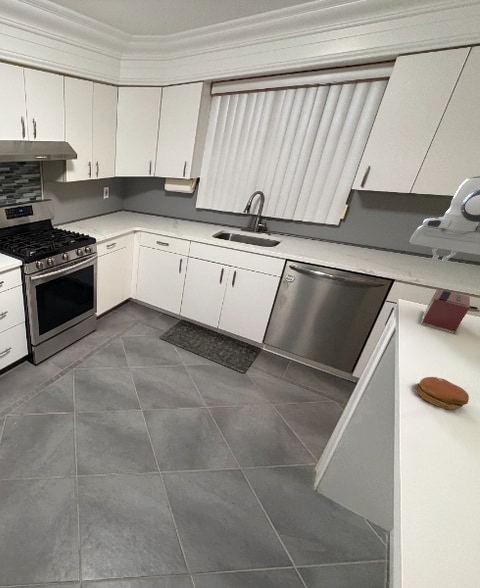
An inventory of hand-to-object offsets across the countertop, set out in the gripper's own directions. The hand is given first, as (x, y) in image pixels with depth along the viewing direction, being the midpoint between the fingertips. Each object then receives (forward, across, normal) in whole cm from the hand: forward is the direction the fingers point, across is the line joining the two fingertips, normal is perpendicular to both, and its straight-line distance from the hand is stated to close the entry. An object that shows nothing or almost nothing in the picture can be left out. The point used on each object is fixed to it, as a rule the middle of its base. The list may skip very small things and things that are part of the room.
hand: (438, 260), depth 116 cm
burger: (+25, -11, +56) cm, 62 cm away
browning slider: (+14, -6, 0) cm, 15 cm away
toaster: (+25, -8, -6) cm, 27 cm away
